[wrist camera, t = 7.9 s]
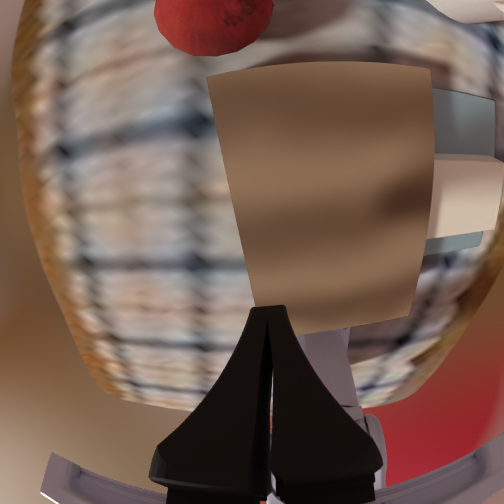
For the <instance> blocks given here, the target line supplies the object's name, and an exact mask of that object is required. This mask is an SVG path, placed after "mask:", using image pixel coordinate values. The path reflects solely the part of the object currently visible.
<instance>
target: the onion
mask: <svg viewBox="0 0 504 504" xmlns="http://www.w3.org/2000/svg"><path fill="white" fill-rule="evenodd" d="M273 7H274V4H273V1H272V0H156V3H155V8H154V16H155V20H156V23H157V26H158V29H159V31H160V33H161V34H162V35H163V36H164V37H165V38H166V39H167V40H168V41H169V42H170V43H171V45H172V46H173V47H174V48H177V49H179V50H182V51H184V52H186V53H189V54H191V55H193V56H220V55H224V54H228V53H233V52H237V51H239V50H241V49H242V48H244V47H246V46H248V45H249V44H251V43H253V42H254V41H255V40H256V39H257V38H258V37H259V35H260V34H261V33H262V32H263V31H264V30H265V29H266V27H267V26H268V25H269V22H270V18H271V14H272V11H273Z"/></svg>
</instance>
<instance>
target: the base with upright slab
mask: <svg viewBox="0 0 504 504" xmlns="http://www.w3.org/2000/svg"><path fill="white" fill-rule="evenodd" d="M427 1H428V2H429V3H430V4H431V5H433V6H434V7H435V8H436V9H437V10H439V11H440V12H442V13H443V14H445V15H446V16H448V17H449V18H451V19H454V20H456V21H458V22H461V23H467V24H472V23H480V22H489V21H502V20H504V0H427Z"/></svg>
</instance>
